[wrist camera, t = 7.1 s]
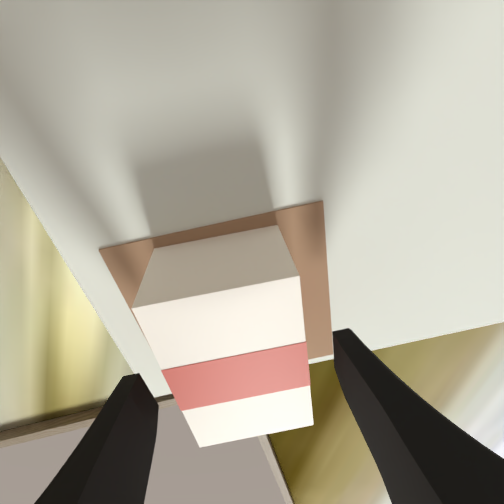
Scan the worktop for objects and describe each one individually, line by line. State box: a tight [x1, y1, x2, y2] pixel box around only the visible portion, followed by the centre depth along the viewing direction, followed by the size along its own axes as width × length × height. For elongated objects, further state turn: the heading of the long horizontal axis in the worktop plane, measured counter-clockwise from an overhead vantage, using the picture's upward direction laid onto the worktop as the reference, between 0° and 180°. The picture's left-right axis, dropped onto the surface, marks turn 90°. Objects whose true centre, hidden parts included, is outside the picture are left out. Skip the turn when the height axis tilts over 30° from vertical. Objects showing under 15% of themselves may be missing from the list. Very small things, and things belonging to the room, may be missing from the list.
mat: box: [0, 0, 504, 397], centre depth 12 cm, size 22×18×1 cm
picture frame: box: [0, 394, 294, 504], centre depth 22 cm, size 19×1×28 cm
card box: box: [131, 225, 313, 447], centre depth 12 cm, size 8×5×4 cm, turn 9°
